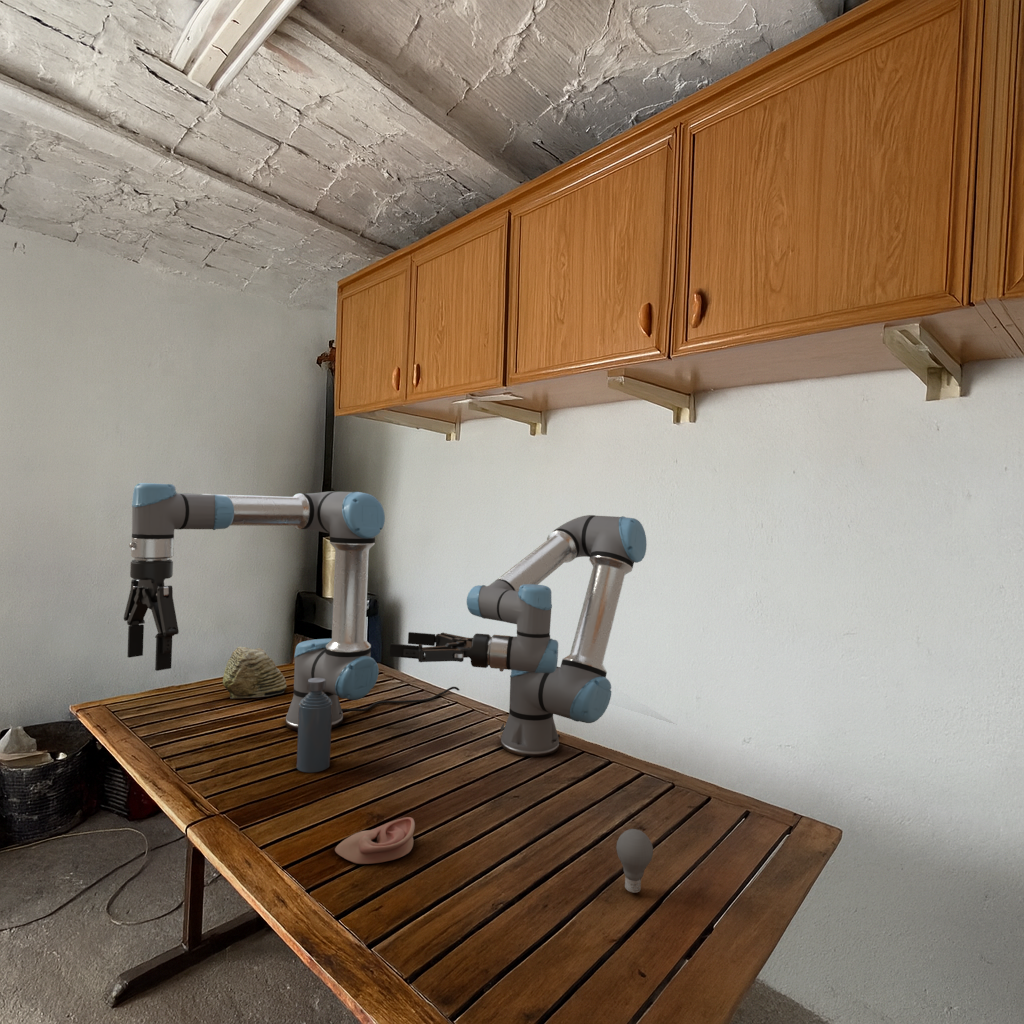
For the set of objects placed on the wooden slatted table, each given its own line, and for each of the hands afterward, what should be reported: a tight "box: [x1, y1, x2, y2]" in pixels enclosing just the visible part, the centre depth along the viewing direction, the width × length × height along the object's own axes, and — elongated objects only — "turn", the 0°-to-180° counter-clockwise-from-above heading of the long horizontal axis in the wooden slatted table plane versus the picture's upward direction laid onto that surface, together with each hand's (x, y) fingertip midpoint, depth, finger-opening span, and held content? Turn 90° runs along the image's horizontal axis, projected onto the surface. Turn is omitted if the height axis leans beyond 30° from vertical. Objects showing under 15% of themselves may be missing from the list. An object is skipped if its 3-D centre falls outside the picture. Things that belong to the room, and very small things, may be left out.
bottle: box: [296, 690, 332, 774], centre depth 149 cm, size 8×8×20 cm
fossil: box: [222, 646, 288, 699], centre depth 198 cm, size 9×18×15 cm, turn 132°
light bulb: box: [615, 828, 654, 894], centre depth 106 cm, size 6×6×10 cm
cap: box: [307, 678, 326, 691], centre depth 148 cm, size 4×4×2 cm
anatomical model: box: [334, 816, 416, 865], centre depth 115 cm, size 13×4×12 cm
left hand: (148, 662), depth 129 cm, fingers open, 13 cm apart
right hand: (399, 643), depth 147 cm, fingers open, 13 cm apart
